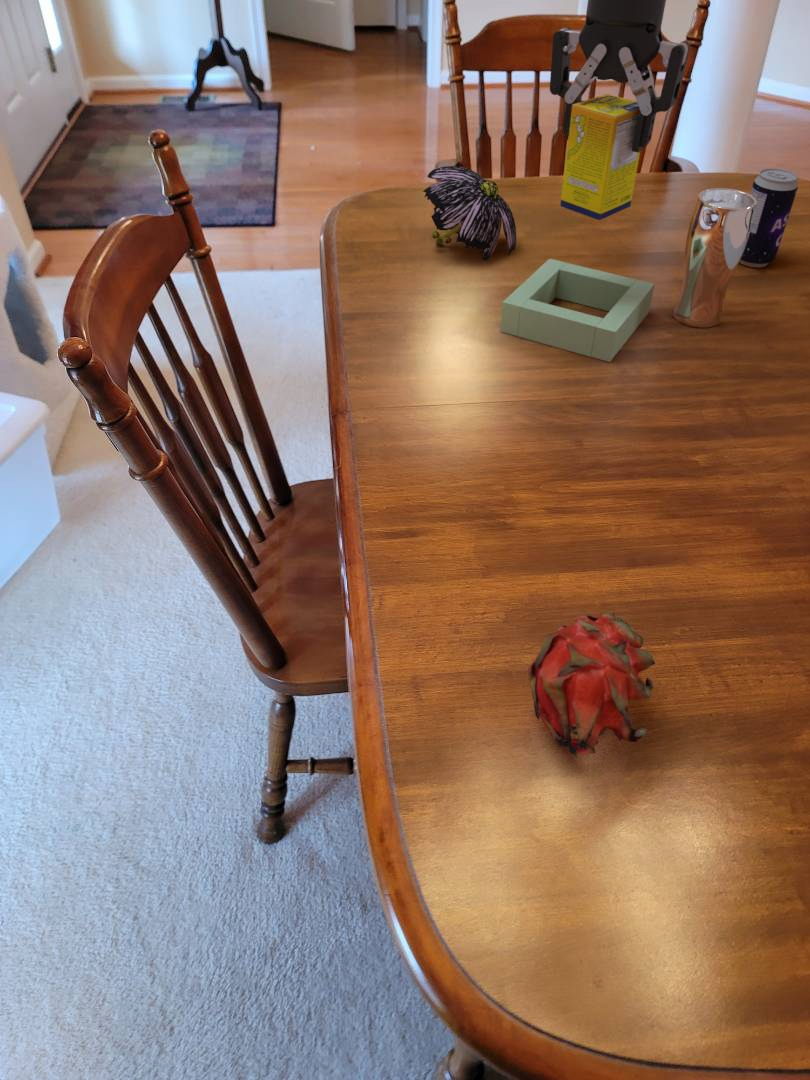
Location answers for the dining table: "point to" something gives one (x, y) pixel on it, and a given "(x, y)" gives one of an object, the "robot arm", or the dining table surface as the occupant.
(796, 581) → the dining table surface
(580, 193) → the supplement box
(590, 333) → the socket
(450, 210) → the decorative flower
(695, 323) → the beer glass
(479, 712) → the dining table surface
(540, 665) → the dragon fruit
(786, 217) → the beverage can
